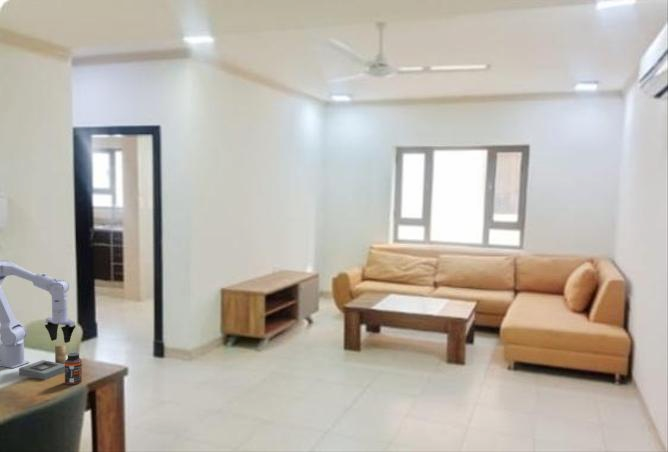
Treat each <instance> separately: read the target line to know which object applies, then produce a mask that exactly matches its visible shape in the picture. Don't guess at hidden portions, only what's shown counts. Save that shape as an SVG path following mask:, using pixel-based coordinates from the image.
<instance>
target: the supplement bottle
mask: <svg viewBox="0 0 668 452" xmlns="http://www.w3.org/2000/svg"><path fill="white" fill-rule="evenodd" d="M82 380H83V361H82V358H80V353H78V352H70V353H68V354H67V358H66V361H65V372H64V383H65V385H69V386H71V385H72V386H73V385H77V384H81V382H82Z"/></svg>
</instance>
